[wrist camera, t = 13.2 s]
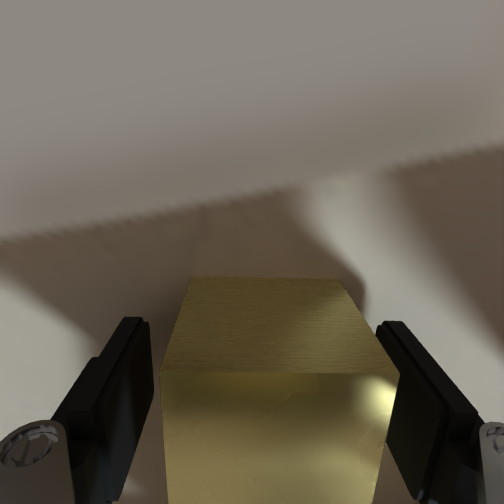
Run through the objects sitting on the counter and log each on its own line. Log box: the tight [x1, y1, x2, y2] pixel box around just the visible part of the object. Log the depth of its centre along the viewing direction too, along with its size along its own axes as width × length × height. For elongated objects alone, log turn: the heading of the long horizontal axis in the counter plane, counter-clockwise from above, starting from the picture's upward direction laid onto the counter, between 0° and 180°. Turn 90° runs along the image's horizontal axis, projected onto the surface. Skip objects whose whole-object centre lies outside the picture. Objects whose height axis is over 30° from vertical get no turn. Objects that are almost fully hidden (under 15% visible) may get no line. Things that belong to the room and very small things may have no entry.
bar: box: [159, 277, 400, 504], centre depth 11 cm, size 12×5×5 cm, turn 178°
